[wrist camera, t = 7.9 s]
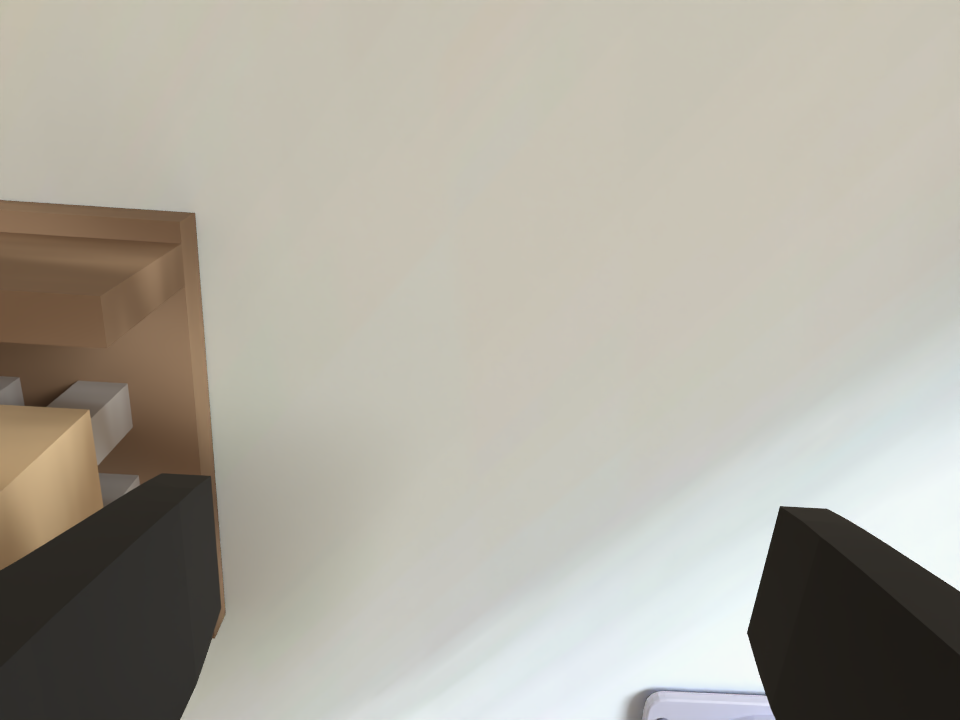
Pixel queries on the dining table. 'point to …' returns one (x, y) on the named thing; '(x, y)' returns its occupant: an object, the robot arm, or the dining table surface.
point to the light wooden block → (44, 476)
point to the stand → (110, 335)
